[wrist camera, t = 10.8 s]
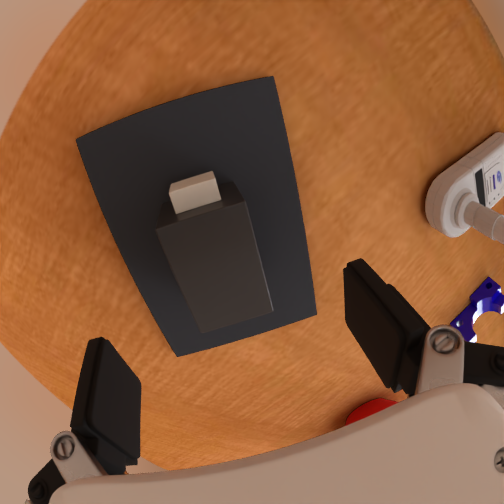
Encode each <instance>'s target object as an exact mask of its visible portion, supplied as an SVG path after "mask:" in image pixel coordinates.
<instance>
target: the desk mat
mask: <svg viewBox="0 0 504 504" xmlns="http://www.w3.org/2000/svg"><path fill="white" fill-rule="evenodd" d="M76 143H77V146H78V149H79V151H80V154H81V157H82V160H83V163H84V166H85V169H86V171H87V174H88V177H89V179H90V182H91V185H92V187H93V190H94V192H95V195H96V197H97V200H98V202H99V205H100V207H101V210H102V212H103V215H104V217H105V219H106V222H107V224H108V226H109V228H110V231H111V233H112V235H113V237H114V240H115V242H116V244H117V246H118V248H119V250H120V253H121V255H122V257H123V259H124V261H125V263H126V265H127V267H128V269H129V271H130V273H131V275H132V277H133V279H134V281H135V283H136V285H137V287H138V289H139V291H140V293H141V295H142V297H143V298H144V300H145V302H146V304H147V306H148V308H149V310H150V311H151V313H152V315H153V317H154V319H155V320H156V322H157V324H158V326H159V327H160V329H161V331H162V333H163V334H164V336H165V338H166V339H167V341H168V343H169V345H170V346H171V348H172V349H173V351H174V353H175V354H176V356H177V357H180V356H183V355H187V354H191V353H195V352H199V351H202V350H206V349H210V348H213V347H217V346H220V345H224V344H227V343H231V342H234V341H238V340H241V339H244V338H248V337H251V336H254V335H257V334H261V333H264V332H267V331H270V330H273V329H276V328H279V327H282V326H285V325H288V324H291V323H294V322H297V321H300V320H303V319H306V318H309V317H311V316H314V315H317V310H316V303H315V295H314V288H313V281H312V274H311V267H310V260H309V253H308V247H307V241H306V235H305V228H304V222H303V217H302V211H301V205H300V200H299V194H298V189H297V183H296V178H295V173H294V168H293V162H292V157H291V153H290V148H289V143H288V138H287V133H286V129H285V124H284V119H283V115H282V111H281V106H280V102H279V97H278V93H277V89H276V85H275V81H274V77H273V76H270V77H264V78H259V79H254V80H249V81H244V82H240V83H235V84H231V85H227V86H223V87H219V88H215V89H211V90H207V91H203V92H200V93H196V94H193V95H189V96H186V97H183V98H179V99H176V100H173V101H170V102H167V103H164V104H161V105H158V106H155V107H152V108H149V109H146V110H144V111H141V112H138V113H136V114H133V115H130V116H128V117H125V118H123V119H120V120H118V121H115V122H113V123H111V124H108V125H106V126H104V127H101V128H99V129H97V130H95V131H92V132H90V133H88V134H86V135H84V136H82V137H79V138H77V139H76ZM210 171H213V174H214V176H215V179H216V183H217V186H219V185H222V184H225V183H229V182H232V181H234V183H235V184H236V186H237V188H238V189H239V191H240V193H241V195H242V196H243V198H244V200H245V201H246V204H247V208H248V212H249V216H250V220H251V224H252V228H253V231H254V235H255V239H256V243H257V247H258V251H259V255H260V259H261V263H262V267H263V270H264V274H265V278H266V282H267V286H268V290H269V294H270V298H271V302H272V306H273V312H270V313H267V314H264V315H261V316H258V317H255V318H251V319H248V320H245V321H242V322H238V323H235V324H232V325H228V326H225V327H222V328H218V329H215V330H211V331H208V332H204V333H201V332H200V330H199V328H198V326H197V324H196V322H195V320H194V317H193V315H192V313H191V311H190V309H189V307H188V305H187V303H186V300H185V298H184V296H183V294H182V292H181V289H180V287H179V285H178V283H177V280H176V278H175V276H174V274H173V271H172V269H171V267H170V264H169V262H168V260H167V257H166V255H165V252H164V250H163V248H162V245H161V243H160V240H159V238H158V235H157V233H156V230H155V229H156V225H157V221H158V217H159V213H160V209H161V205H162V203H165V202H168V201H171V198H170V196H169V190H170V186H171V184H172V183H175V182H178V181H181V180H185V179H188V178H191V177H194V176H197V175H200V174H204V173H207V172H210Z"/></svg>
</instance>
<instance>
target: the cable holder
mask: <svg viewBox="0 0 504 504" xmlns="http://www.w3.org/2000/svg"><path fill="white" fill-rule="evenodd" d="M487 311H495V312H498V313H499V314H502V313H503V312H504V295H503V294H502V293H501V286H500V285H498V284H497V283H496V282H495V281H493V280H492V279H491V278H490V277H488V278H487V279H486V280H485V281H484V282H483V283H482V284H481V285H480V287H479V288H478V289H477V290H476V291H475V292H474V293H473V294H472V295H471V296H470V304H469V305H468V306H467V307H466V308H465V309H464V310H463V311H462V312H461V313H460V314H459V315H458V316H457V317H456V318H455V319H454V320H453V321H452V322H451V323H450V326H452V327H454V328H456V329H457V330H458V331H459V332H461V334H462V336H463V338H464V341H467V342H473V343H475V342H476V341H477V339H476V334H475V332H474V331H473V325H474V322H475V320H476V319H477V318H478V317H479V316H480V315H481V314H482V313H484V312H487Z"/></svg>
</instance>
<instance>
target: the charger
mask: <svg viewBox="0 0 504 504" xmlns="http://www.w3.org/2000/svg"><path fill="white" fill-rule="evenodd" d="M169 196H170V198H171V201H168V202H165V203H162V205H161V209H160V213H159V217H158V221H157V225H156V229H155V230H156V233H157V235H158V238H159V240H160V243H161V245H162V248H163V250H164V252H165V255H166V257H167V260H168V262H169V264H170V267H171V269H172V271H173V274H174V276H175V278H176V280H177V283H178V285H179V287H180V289H181V292H182V294H183V296H184V298H185V300H186V303H187V305H188V307H189V309H190V311H191V313H192V315H193V317H194V320H195V322H196V324H197V326H198V328H199V330H200V332H201V333H204V332H208V331H211V330H215V329H218V328H222V327H225V326H228V325H232V324H235V323H238V322H242V321H245V320H248V319H251V318H255V317H258V316H261V315H264V314H267V313H270V312H273V306H272V302H271V298H270V294H269V290H268V286H267V282H266V278H265V274H264V270H263V267H262V263H261V259H260V255H259V251H258V247H257V243H256V239H255V235H254V231H253V228H252V224H251V220H250V216H249V212H248V208H247V204H246V201H245V200H244V198H243V196H242V195H241V193H240V191H239V189H238V188H237V186H236V184H235V183H234V181H232V182H229V183H225V184H222V185H219V186H217V183H216V179H215V176H214V174H213V171H210V172H207V173H204V174H200V175H197V176H194V177H191V178H188V179H185V180H181V181H178V182H175V183H172V184H171V186H170V190H169Z"/></svg>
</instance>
